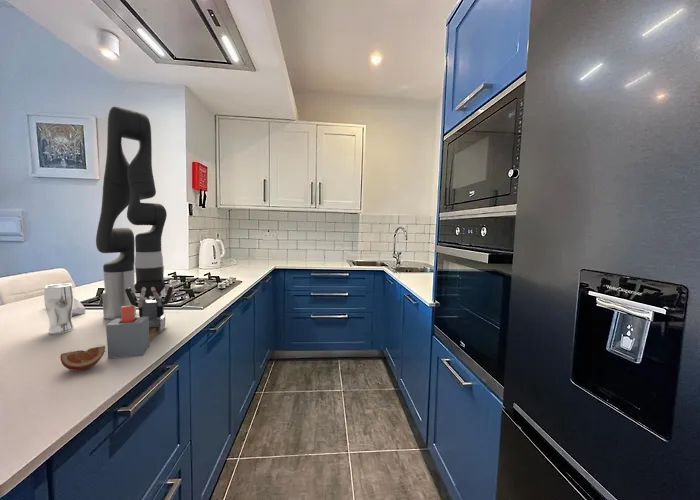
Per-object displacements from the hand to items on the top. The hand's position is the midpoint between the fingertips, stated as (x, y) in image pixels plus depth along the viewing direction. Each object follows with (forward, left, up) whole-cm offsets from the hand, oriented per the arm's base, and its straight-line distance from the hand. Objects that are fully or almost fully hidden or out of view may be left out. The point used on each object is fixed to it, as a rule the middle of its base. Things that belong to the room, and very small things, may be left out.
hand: (151, 317), depth 103 cm
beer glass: (-28, +8, -5) cm, 30 cm away
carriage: (0, 0, -5) cm, 5 cm away
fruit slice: (-8, -25, -5) cm, 27 cm away
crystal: (-39, +35, -5) cm, 53 cm away
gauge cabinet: (-1, -17, -5) cm, 18 cm away
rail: (0, -4, -5) cm, 6 cm away
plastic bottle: (-10, +46, -5) cm, 47 cm away
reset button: (-1, -17, +1) cm, 17 cm away
